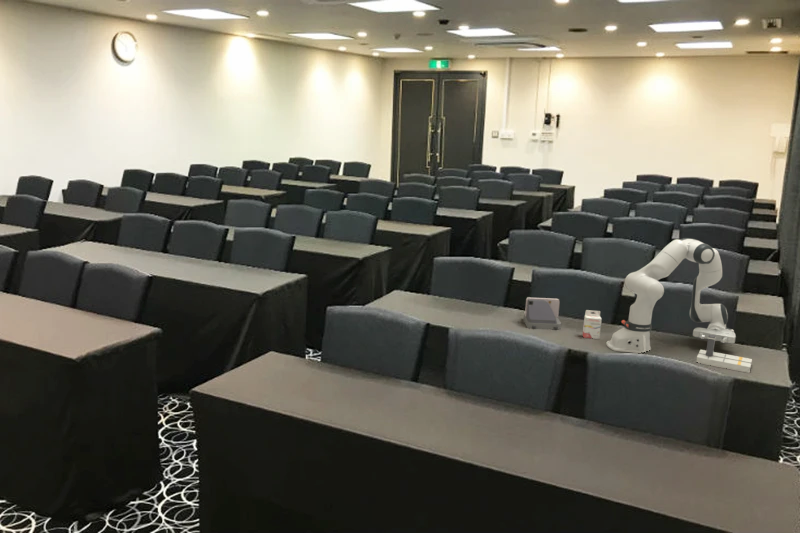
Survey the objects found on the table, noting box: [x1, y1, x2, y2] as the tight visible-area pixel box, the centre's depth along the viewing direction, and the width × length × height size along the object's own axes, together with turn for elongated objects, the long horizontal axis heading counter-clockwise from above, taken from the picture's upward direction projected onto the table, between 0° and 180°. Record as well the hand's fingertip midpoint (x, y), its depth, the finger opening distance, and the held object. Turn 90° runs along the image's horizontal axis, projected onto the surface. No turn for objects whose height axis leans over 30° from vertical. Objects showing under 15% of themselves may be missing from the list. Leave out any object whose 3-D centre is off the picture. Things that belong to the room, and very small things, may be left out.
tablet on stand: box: [523, 296, 562, 331], centre depth 396 cm, size 21×21×15 cm
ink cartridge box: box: [582, 309, 603, 340], centre depth 376 cm, size 9×5×15 cm, turn 84°
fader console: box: [695, 348, 753, 374], centre depth 344 cm, size 24×14×3 cm, turn 60°
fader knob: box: [706, 334, 716, 356], centre depth 346 cm, size 3×4×12 cm
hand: (712, 339), depth 353 cm, fingers open, 8 cm apart
